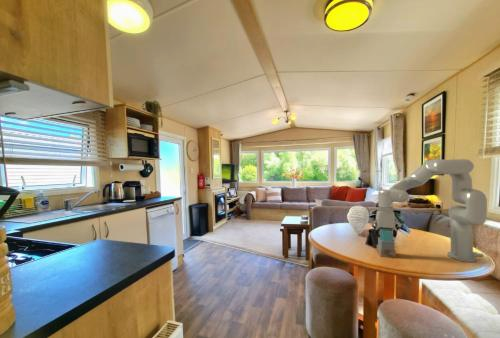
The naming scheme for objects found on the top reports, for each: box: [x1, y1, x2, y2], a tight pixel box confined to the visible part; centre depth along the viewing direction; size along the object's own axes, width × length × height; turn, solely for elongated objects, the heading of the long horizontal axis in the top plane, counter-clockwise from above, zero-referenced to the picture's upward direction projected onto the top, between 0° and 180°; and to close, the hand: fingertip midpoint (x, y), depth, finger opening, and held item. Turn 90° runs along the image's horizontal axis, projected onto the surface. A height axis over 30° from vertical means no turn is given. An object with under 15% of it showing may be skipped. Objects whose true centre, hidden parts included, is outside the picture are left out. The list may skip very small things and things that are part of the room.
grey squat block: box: [378, 237, 395, 250], centre depth 134 cm, size 7×7×5 cm
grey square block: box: [376, 245, 397, 259], centre depth 134 cm, size 8×8×5 cm
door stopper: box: [365, 228, 380, 250], centre depth 149 cm, size 9×6×12 cm, turn 14°
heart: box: [346, 205, 370, 235], centre depth 174 cm, size 28×16×22 cm, turn 150°
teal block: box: [379, 228, 393, 241], centre depth 134 cm, size 5×5×6 cm
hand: (385, 236), depth 134 cm, fingers open, 9 cm apart
